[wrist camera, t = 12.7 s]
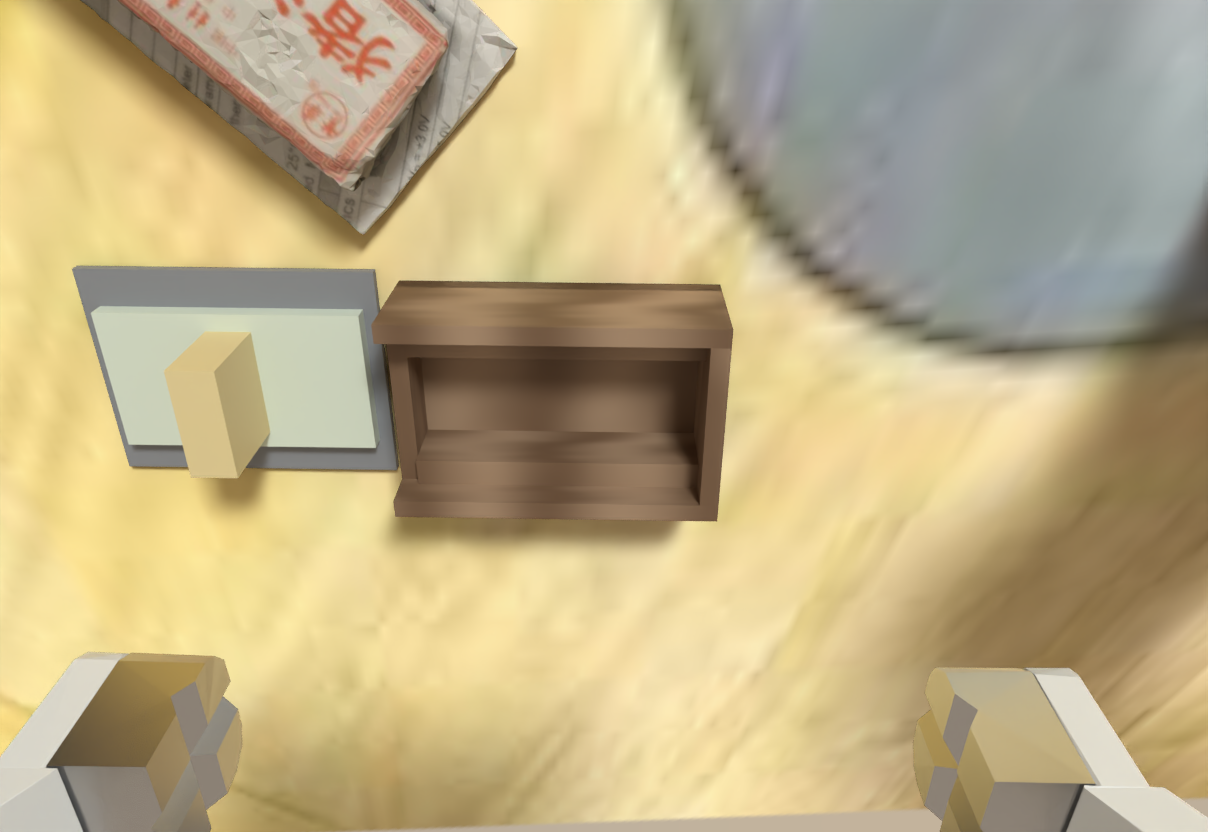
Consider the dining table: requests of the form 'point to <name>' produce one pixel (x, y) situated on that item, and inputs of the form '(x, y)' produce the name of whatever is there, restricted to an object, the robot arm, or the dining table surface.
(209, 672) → the robot arm
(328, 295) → the mat
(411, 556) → the dining table surface
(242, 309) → the lid
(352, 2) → the packaged product
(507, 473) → the box
